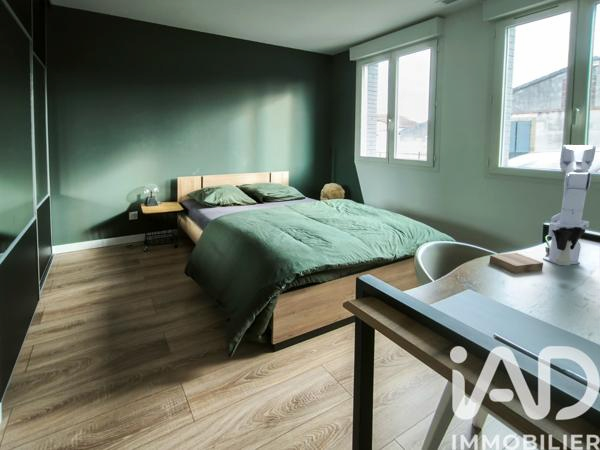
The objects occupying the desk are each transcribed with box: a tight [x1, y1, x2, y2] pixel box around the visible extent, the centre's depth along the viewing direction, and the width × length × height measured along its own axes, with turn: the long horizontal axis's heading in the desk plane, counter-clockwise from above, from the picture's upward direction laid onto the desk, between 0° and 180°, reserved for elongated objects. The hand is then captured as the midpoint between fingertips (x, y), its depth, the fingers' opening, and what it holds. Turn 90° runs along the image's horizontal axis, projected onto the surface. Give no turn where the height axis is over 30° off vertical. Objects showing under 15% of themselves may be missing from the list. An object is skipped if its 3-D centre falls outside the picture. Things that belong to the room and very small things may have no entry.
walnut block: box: [489, 252, 544, 275], centre depth 135 cm, size 12×12×3 cm
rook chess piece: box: [555, 240, 572, 267], centre depth 123 cm, size 4×4×8 cm
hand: (565, 249), depth 122 cm, fingers closed on rook chess piece, 3 cm apart
